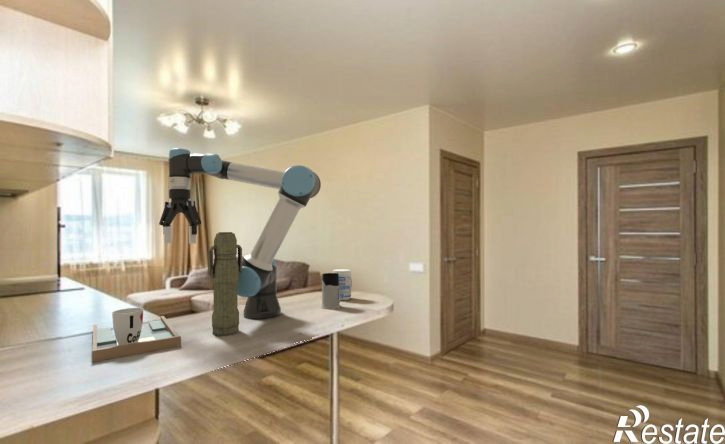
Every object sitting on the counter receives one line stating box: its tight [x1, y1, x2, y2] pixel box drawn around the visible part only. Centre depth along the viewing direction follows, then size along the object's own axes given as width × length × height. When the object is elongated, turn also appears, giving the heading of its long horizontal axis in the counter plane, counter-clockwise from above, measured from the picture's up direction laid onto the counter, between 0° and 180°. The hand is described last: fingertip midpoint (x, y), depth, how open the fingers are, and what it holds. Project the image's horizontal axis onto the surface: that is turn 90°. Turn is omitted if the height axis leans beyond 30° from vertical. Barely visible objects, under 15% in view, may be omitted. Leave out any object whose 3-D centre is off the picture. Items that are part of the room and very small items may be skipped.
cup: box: [111, 307, 144, 346], centre depth 112 cm, size 8×8×10 cm
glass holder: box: [320, 272, 353, 310], centre depth 167 cm, size 9×14×15 cm, turn 93°
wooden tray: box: [91, 315, 182, 363], centre depth 121 cm, size 36×22×3 cm, turn 36°
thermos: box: [207, 231, 243, 337], centre depth 127 cm, size 9×12×35 cm
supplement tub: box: [332, 268, 352, 301], centre depth 185 cm, size 10×10×15 cm
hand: (179, 243), depth 142 cm, fingers open, 13 cm apart
